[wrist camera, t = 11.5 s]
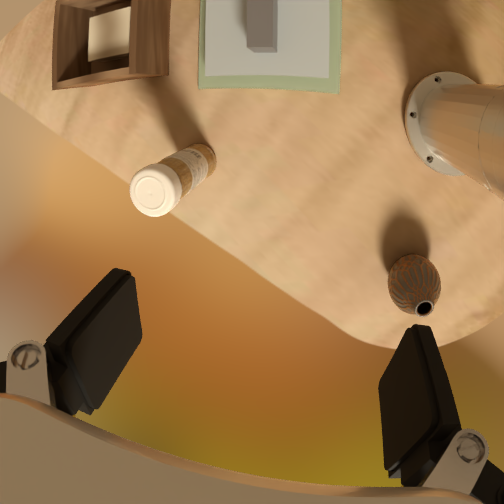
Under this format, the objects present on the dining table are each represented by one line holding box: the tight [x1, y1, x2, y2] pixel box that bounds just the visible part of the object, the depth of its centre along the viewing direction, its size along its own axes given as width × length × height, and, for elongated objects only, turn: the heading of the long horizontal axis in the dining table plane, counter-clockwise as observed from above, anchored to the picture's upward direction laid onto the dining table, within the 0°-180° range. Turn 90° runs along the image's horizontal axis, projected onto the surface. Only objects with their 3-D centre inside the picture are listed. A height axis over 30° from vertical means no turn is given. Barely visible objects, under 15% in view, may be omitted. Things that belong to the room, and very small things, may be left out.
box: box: [52, 0, 171, 90], centre depth 28 cm, size 12×12×8 cm
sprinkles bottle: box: [130, 144, 216, 217], centre depth 32 cm, size 5×5×13 cm
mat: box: [198, 0, 342, 94], centre depth 29 cm, size 16×16×1 cm
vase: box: [388, 254, 441, 317], centre depth 36 cm, size 7×7×9 cm
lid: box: [205, 0, 329, 79], centre depth 26 cm, size 13×13×6 cm
